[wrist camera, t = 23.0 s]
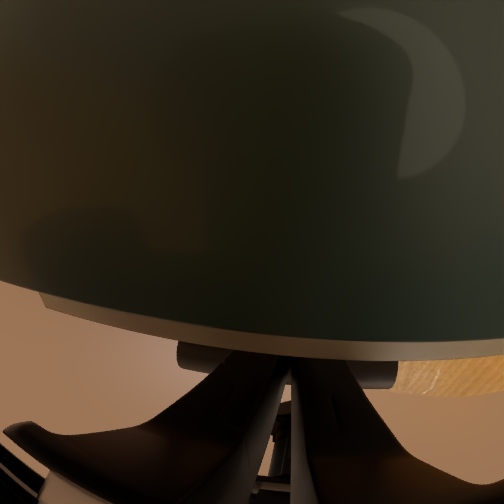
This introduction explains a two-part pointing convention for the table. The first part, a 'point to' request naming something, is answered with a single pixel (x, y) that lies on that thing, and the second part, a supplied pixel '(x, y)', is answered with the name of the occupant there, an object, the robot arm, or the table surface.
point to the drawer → (281, 345)
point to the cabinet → (259, 163)
